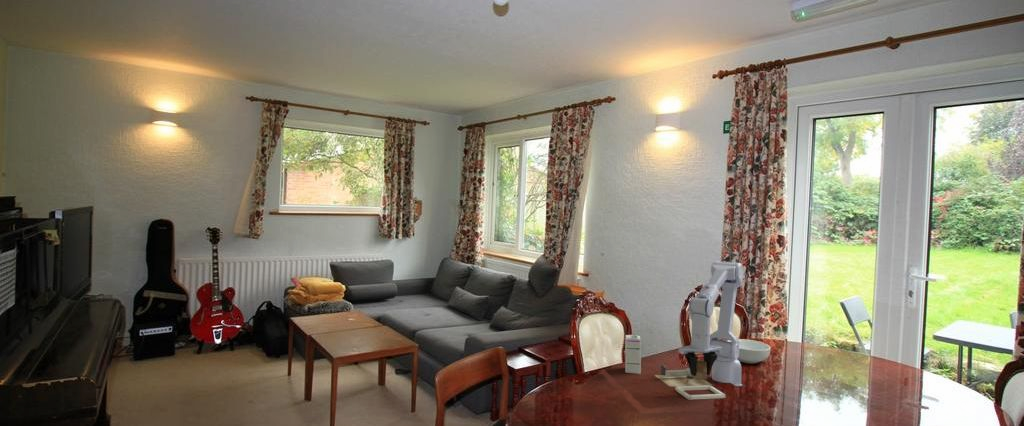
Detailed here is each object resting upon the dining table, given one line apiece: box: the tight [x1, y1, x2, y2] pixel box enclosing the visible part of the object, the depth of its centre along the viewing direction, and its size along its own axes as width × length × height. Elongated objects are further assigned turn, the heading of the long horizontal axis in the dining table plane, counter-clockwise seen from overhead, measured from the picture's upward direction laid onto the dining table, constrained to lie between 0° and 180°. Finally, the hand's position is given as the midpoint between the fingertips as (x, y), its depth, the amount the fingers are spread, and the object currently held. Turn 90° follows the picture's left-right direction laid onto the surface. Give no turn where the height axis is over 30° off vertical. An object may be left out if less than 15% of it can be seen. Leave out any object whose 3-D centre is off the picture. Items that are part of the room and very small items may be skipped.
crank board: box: [654, 374, 713, 388], centre depth 179 cm, size 16×12×2 cm
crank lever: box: [660, 364, 693, 378], centre depth 181 cm, size 13×3×4 cm, turn 99°
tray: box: [674, 385, 727, 401], centre depth 166 cm, size 13×9×2 cm
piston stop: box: [693, 359, 708, 381], centre depth 166 cm, size 4×4×6 cm
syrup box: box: [624, 334, 642, 375], centre depth 189 cm, size 6×6×14 cm
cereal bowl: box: [727, 338, 771, 364], centre depth 210 cm, size 17×17×7 cm
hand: (700, 374), depth 166 cm, fingers closed on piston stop, 4 cm apart
